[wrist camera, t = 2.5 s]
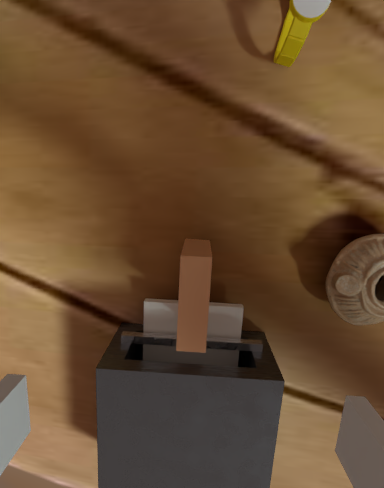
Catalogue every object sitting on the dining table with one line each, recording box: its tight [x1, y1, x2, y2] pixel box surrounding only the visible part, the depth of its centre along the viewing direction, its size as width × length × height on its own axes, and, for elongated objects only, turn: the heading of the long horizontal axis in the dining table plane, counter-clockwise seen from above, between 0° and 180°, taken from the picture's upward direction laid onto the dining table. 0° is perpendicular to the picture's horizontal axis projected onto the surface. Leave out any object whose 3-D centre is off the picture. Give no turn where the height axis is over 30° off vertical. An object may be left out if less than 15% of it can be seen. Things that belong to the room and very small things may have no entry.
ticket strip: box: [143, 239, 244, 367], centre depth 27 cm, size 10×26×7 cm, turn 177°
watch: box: [274, 0, 331, 67], centre depth 23 cm, size 6×3×6 cm, turn 165°
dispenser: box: [96, 323, 284, 488], centre depth 30 cm, size 16×19×8 cm
